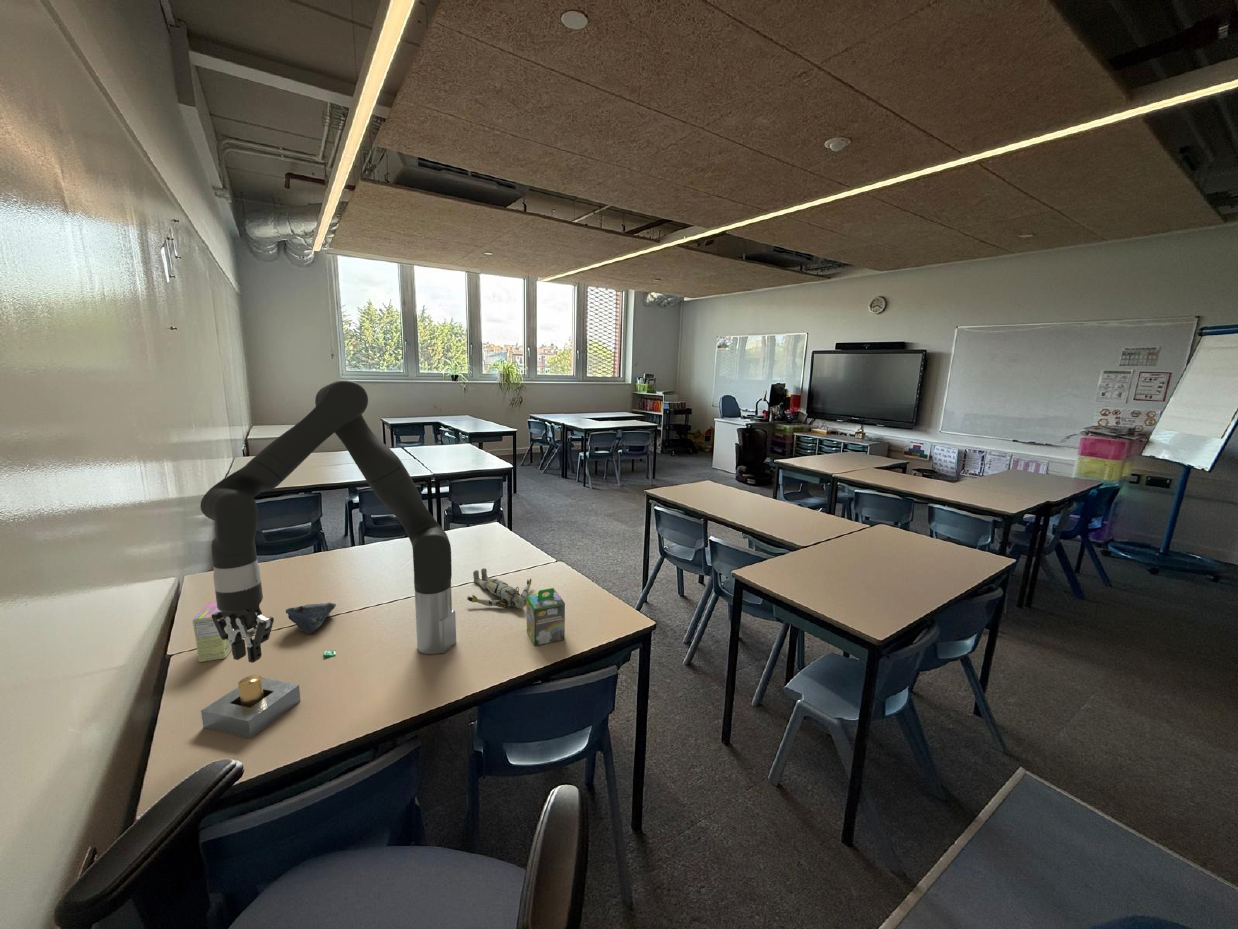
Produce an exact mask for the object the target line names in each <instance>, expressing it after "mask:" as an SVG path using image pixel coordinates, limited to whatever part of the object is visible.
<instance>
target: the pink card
mask: <svg viewBox="0 0 1238 929" xmlns="http://www.w3.org/2000/svg"><path fill="white" fill-rule="evenodd" d="M336 653H337V651H336V649H334V650H331V649H325V650H323V659H326V658H332V657H336Z"/></svg>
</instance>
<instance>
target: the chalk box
mask: <svg viewBox="0 0 1238 929" xmlns="http://www.w3.org/2000/svg"><path fill="white" fill-rule="evenodd" d="M525 602H526V605H525V606H526V607H525V608H526V609H525V610H526V613H525V614H526V631H527V634H528V636H529V638H530V639H531V641H532V644H533V646H534V647H537V646H541V645H545V644H550V643H554V642H560V641H564V640H565V636H566V635H565V632H566V629H565V626H566V624H565V623H566V622H565V621H566V616H565V615H566V603H565V601H564V599H562V597H561V595H560V594H559V593H558V592H557V591H556V590H555V588H554V587H550V588H546V589H545V588H544V589H540V590H538V592H536V593H532V594H530V595H529V594H527V596H526V600H525Z"/></svg>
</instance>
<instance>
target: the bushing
mask: <svg viewBox="0 0 1238 929" xmlns="http://www.w3.org/2000/svg"><path fill="white" fill-rule="evenodd" d="M262 678H263V677H262V675H259V674H253V675H249V676H246V677H244V678H242V679H240V680H239V682H238V684H237V685H238V687H239V694H240V701H241V706H244V707H249V708H251V707H252V706H254V705H255V704H257V703H258V702H260V701H261V700H262V699H264V693H263V685H262ZM238 687H237V688H238Z"/></svg>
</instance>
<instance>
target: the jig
mask: <svg viewBox="0 0 1238 929" xmlns="http://www.w3.org/2000/svg"><path fill="white" fill-rule="evenodd" d="M262 685H263V693H264V699H262V700H261V701H260V702H258V703H257V704H255V705H254V706H252V707H251V708H249V707H244V706H241V701H240V694H239V687H236V688H234V689H233V690H232V691H229V693H227V694H225V695H223V696H222V697H220V698H219V699H217V700H215V701H213V703H211V704H209V705H208V706H205V708H204V707H203V709H201V710H200V713H201V714H200V715H201V721H202V727H203V729H207V730H210V731H215V732H216V731H217V732H219V733H225V734H229V735H232V736H233V735H234V736H239V737H242V738H247V739H252V738H253V737H254V736H256V735H257V734H258V733H260V732H261V731H263V730H265V728H266V727H268V726H269V725H270V724H272V723H273V722H275V721H276V720H278V719H279V718H280V717H281V716H282V715H284V714H285V713H287V712H288V711H289V710H290V709H291V708H293V707H294V706H295V705H297V704H298V703H300V702H301V693H300V692H301V691H300V684H296V683H293V682H292V683H291V682H286V681H282V680H276V679H271V678H266V677H262Z"/></svg>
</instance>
